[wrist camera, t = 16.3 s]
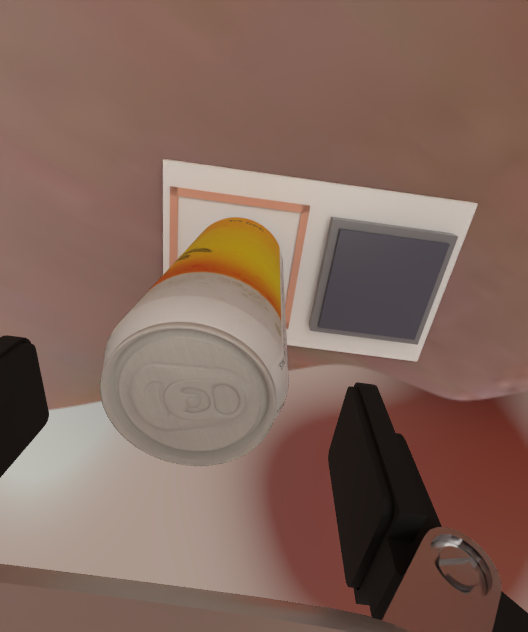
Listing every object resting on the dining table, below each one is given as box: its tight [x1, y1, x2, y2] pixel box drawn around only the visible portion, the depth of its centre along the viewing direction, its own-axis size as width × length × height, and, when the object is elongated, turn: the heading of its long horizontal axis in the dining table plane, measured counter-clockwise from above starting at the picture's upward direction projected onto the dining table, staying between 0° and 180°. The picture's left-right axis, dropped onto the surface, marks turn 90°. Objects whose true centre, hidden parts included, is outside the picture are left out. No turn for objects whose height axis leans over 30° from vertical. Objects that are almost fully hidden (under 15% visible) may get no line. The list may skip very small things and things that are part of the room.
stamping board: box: [163, 159, 478, 361], centre depth 24 cm, size 20×12×2 cm, turn 83°
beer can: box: [100, 217, 289, 466], centre depth 17 cm, size 6×6×15 cm
